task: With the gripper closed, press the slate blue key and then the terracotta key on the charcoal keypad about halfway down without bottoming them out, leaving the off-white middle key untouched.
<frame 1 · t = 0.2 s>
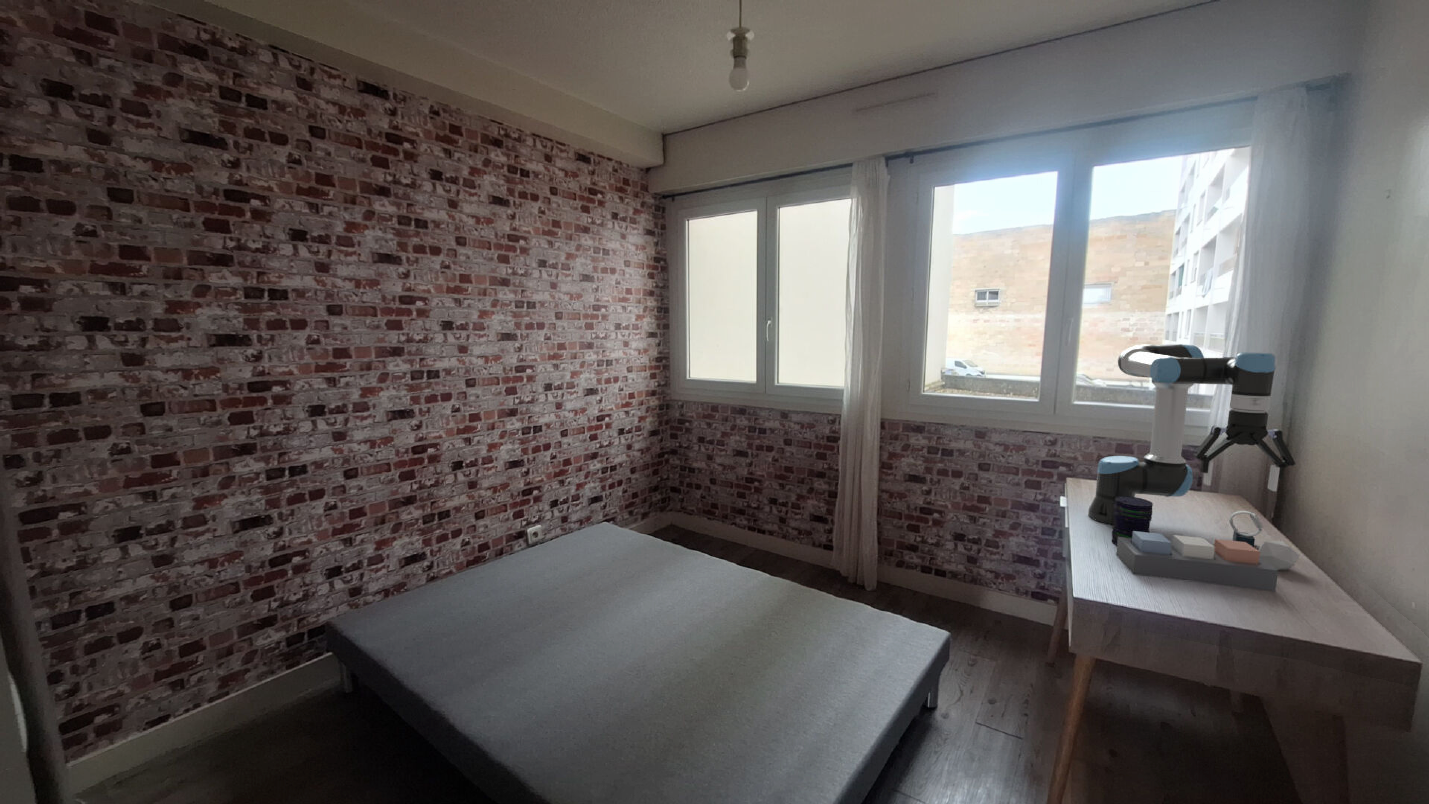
hand: (1238, 487, 147), 28 cm above the table, tool pointing down, fingers open, 13 cm apart
die: (1275, 568, 160), on the table
watch: (1243, 544, 177), on the table
keypad housing: (1189, 571, 158), on the table
white key: (1192, 549, 157), point 7 cm above the table, slide at 0.0 cm
slate blue key: (1150, 544, 160), point 7 cm above the table, slide at 0.0 cm
storage jar: (1129, 545, 178), on the table
terracotta key: (1235, 553, 153), point 7 cm above the table, slide at 0.0 cm
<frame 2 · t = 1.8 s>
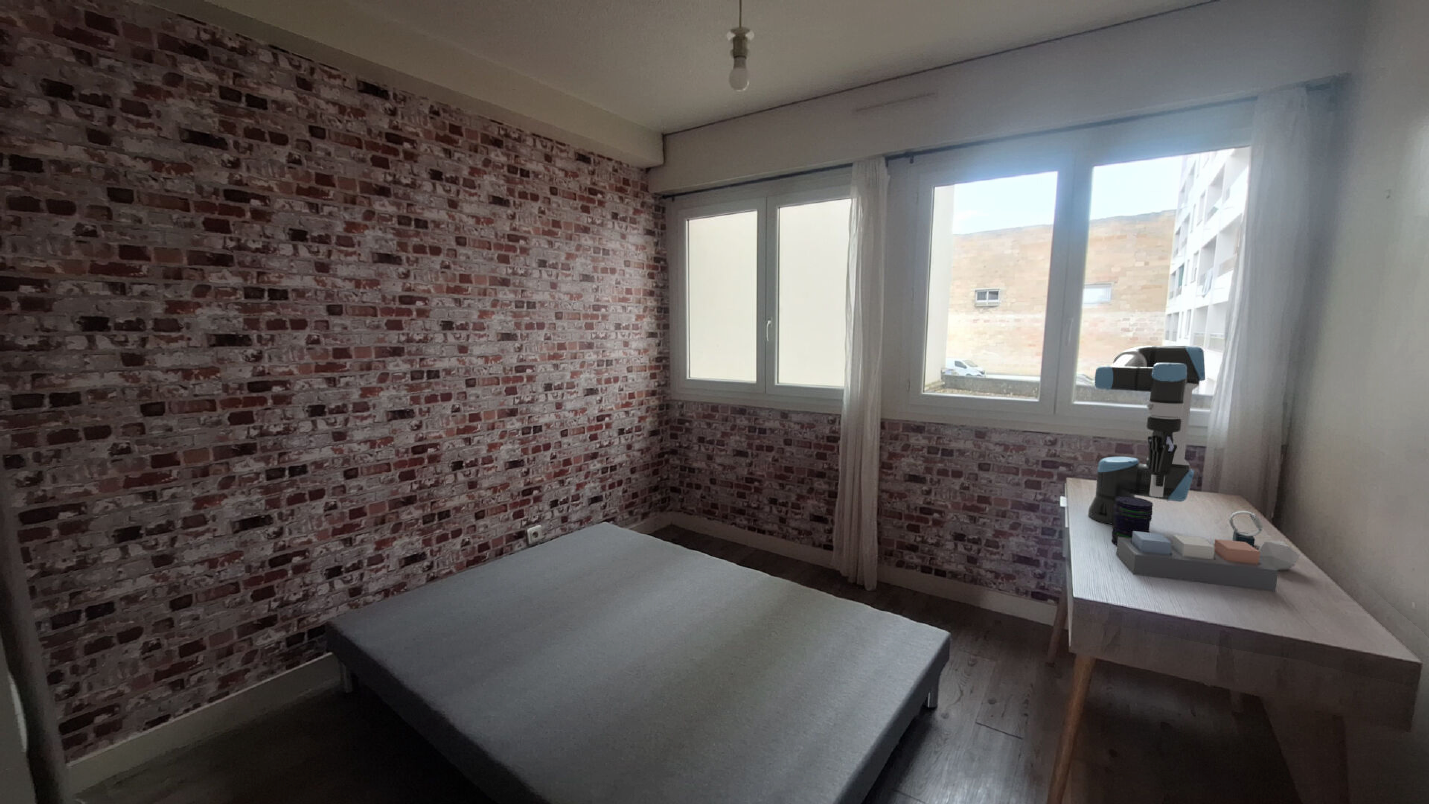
hand: (1156, 495, 158), 22 cm above the table, tool pointing down, fingers closed
nothing on the table moved.
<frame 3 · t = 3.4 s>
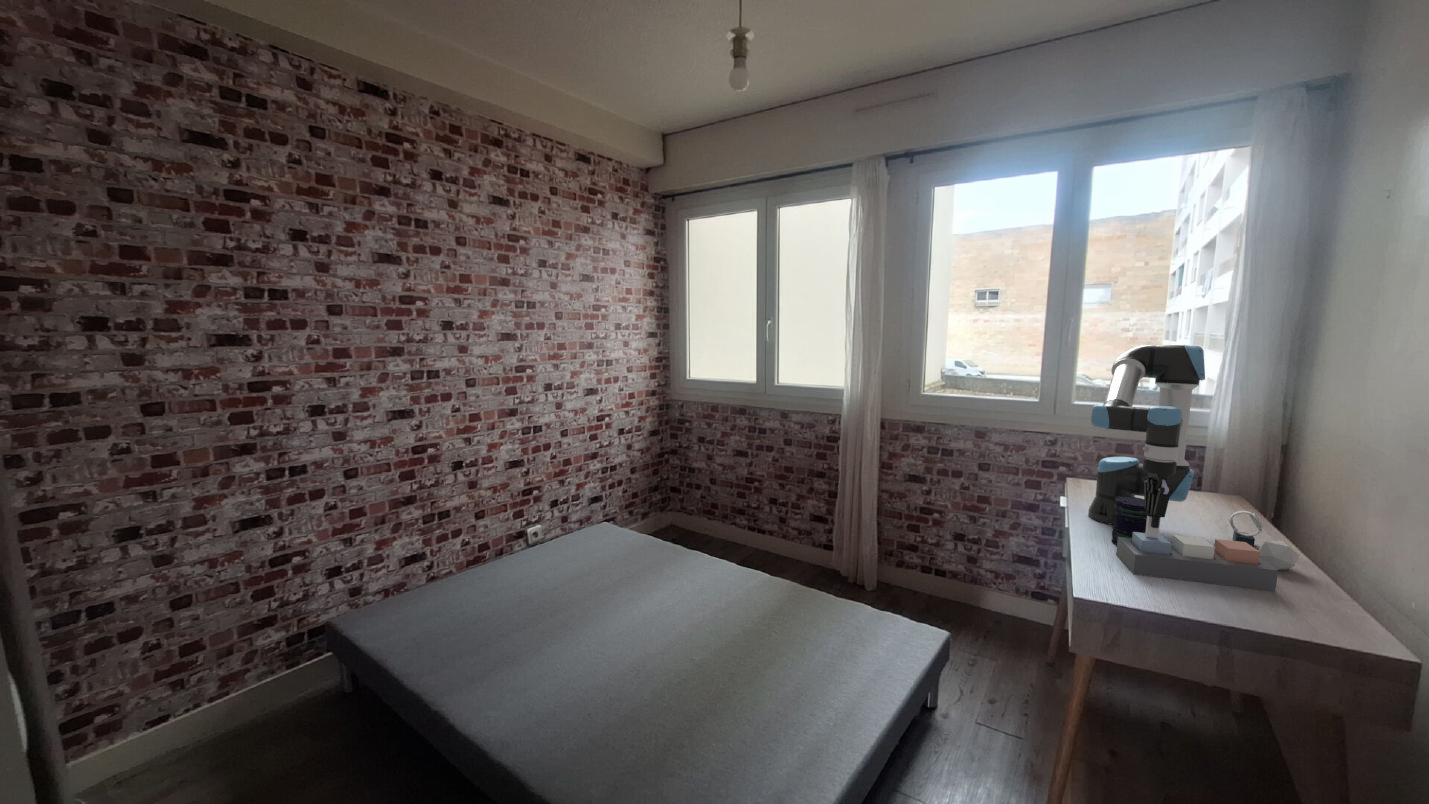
hand: (1151, 536, 160), 10 cm above the table, tool pointing down, fingers closed
slate blue key: (1150, 545, 160), point 7 cm above the table, slide at 0.3 cm, touching gripper
everything else where it was.
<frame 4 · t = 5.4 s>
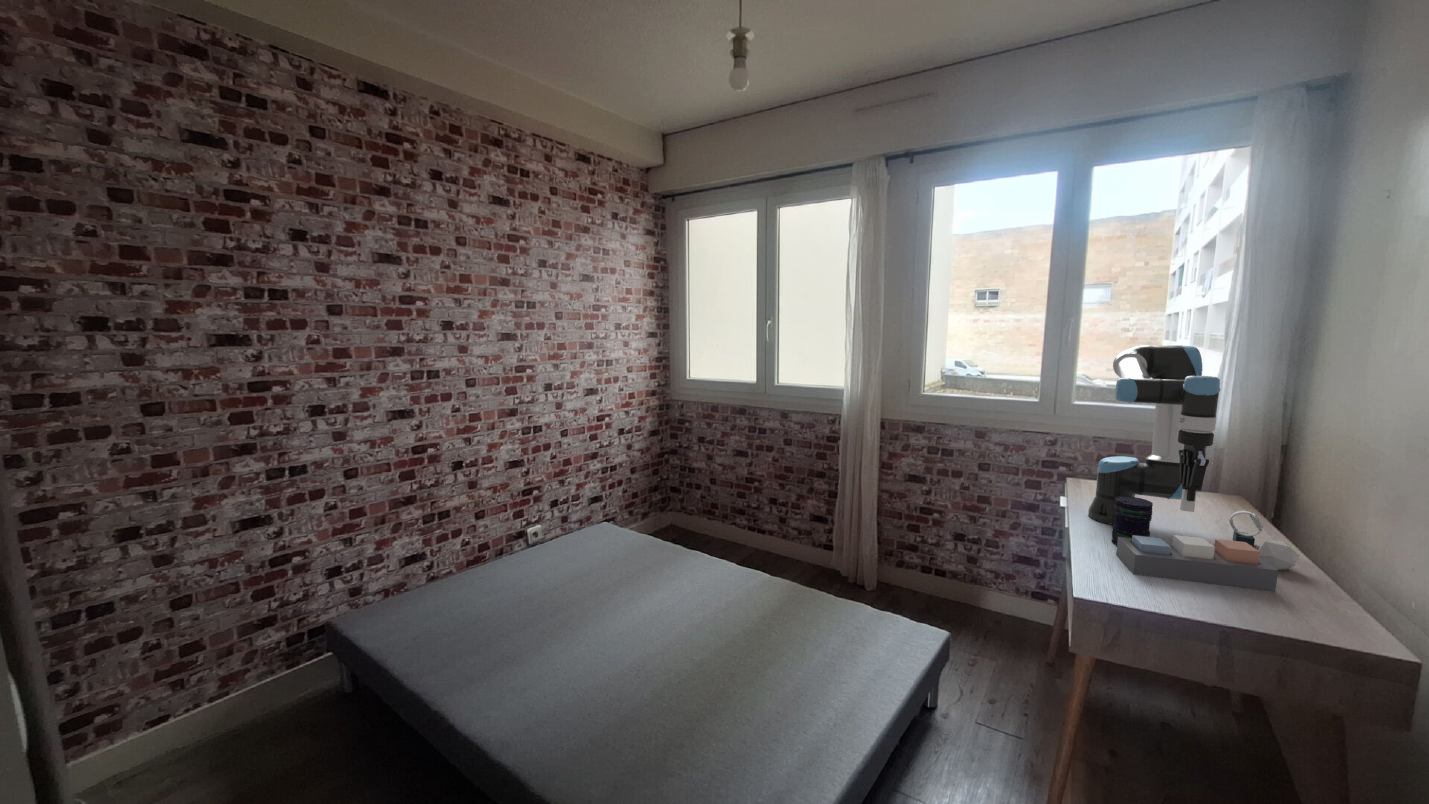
hand: (1187, 510, 156), 18 cm above the table, tool pointing down, fingers closed
slate blue key: (1150, 548, 160), point 6 cm above the table, slide at 1.3 cm
everything else where it was.
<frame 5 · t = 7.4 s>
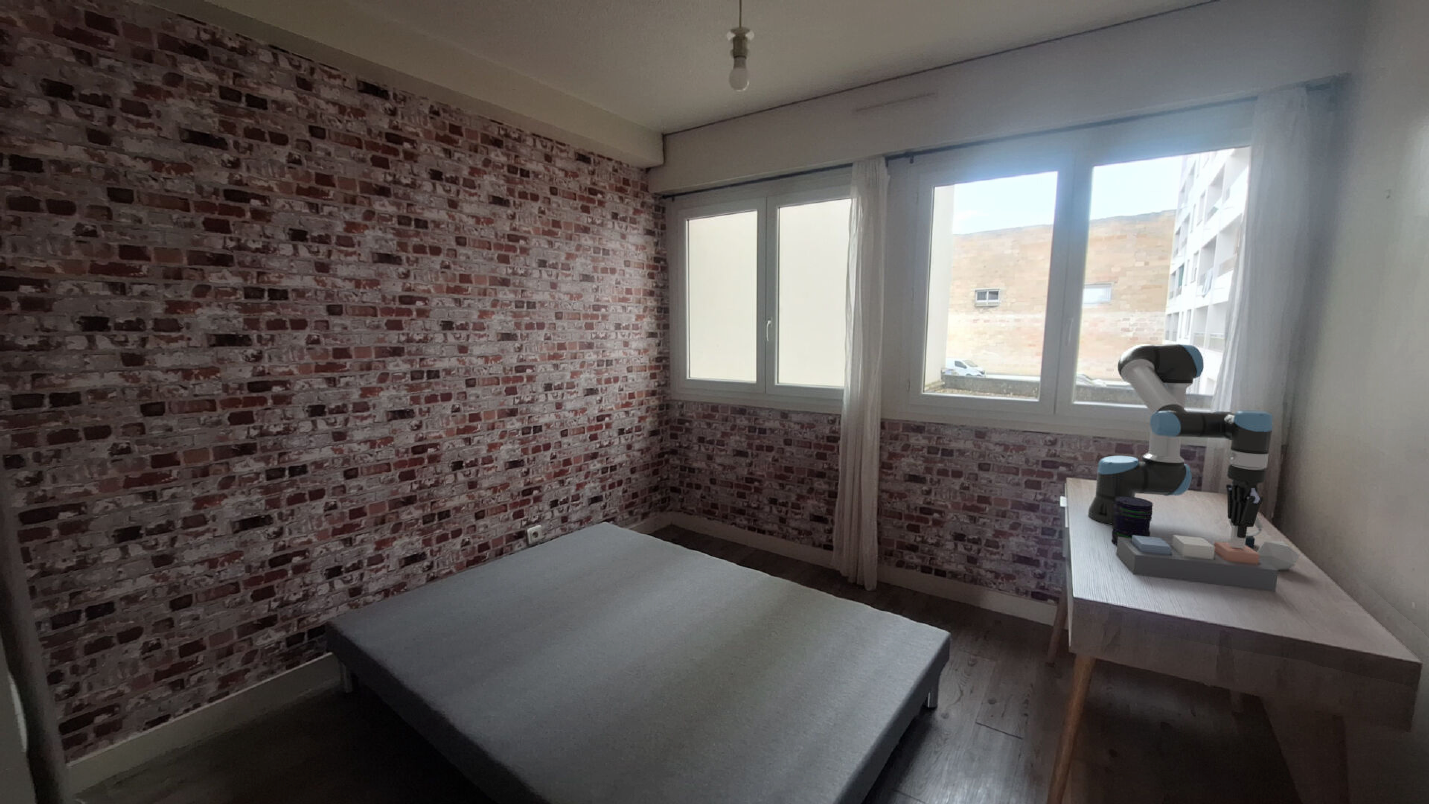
hand: (1237, 547, 153), 9 cm above the table, tool pointing down, fingers closed
terracotta key: (1235, 556, 153), point 6 cm above the table, slide at 0.8 cm, touching gripper
everything else where it was.
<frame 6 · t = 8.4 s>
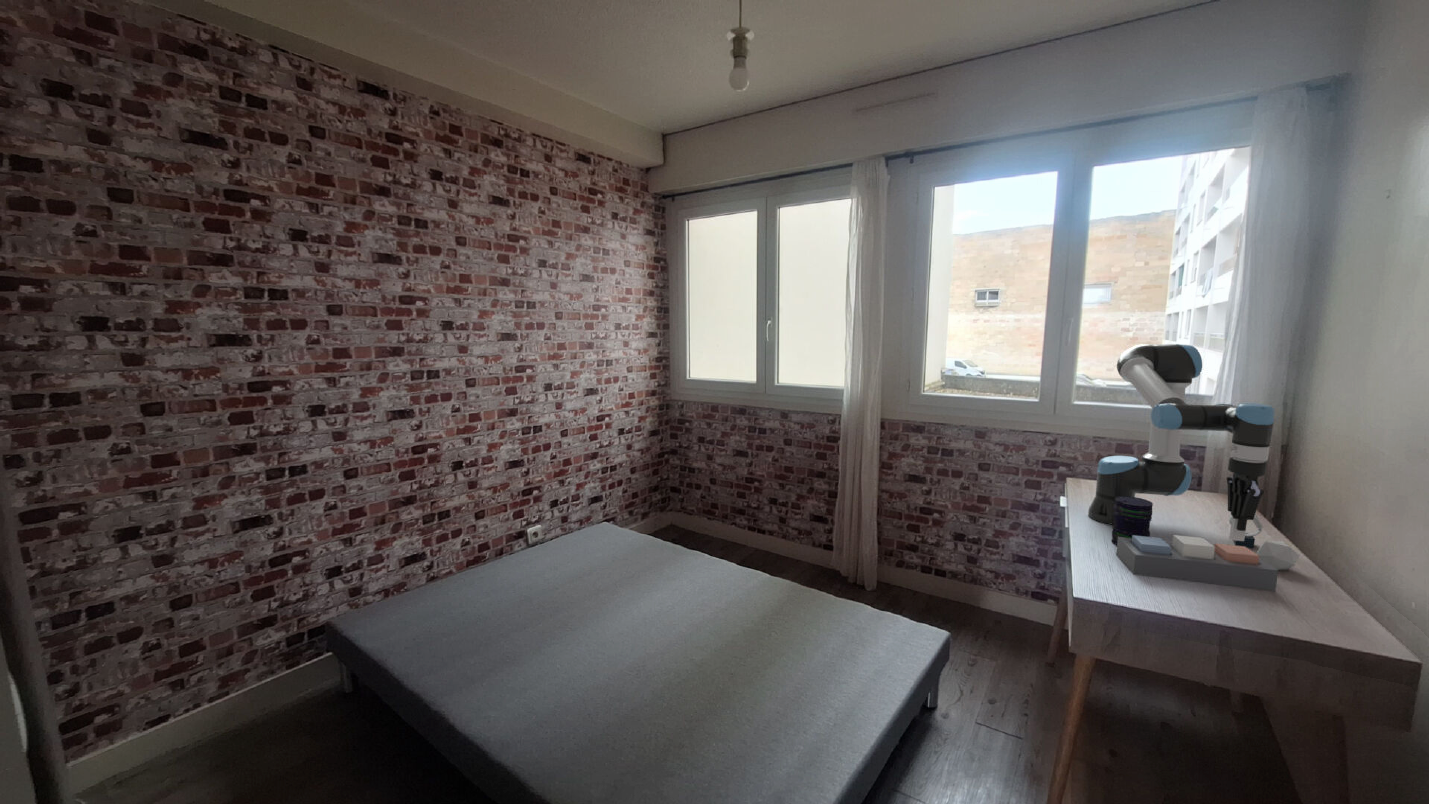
hand: (1236, 539, 153), 11 cm above the table, tool pointing down, fingers closed
terracotta key: (1235, 557, 154), point 6 cm above the table, slide at 1.3 cm
everything else where it was.
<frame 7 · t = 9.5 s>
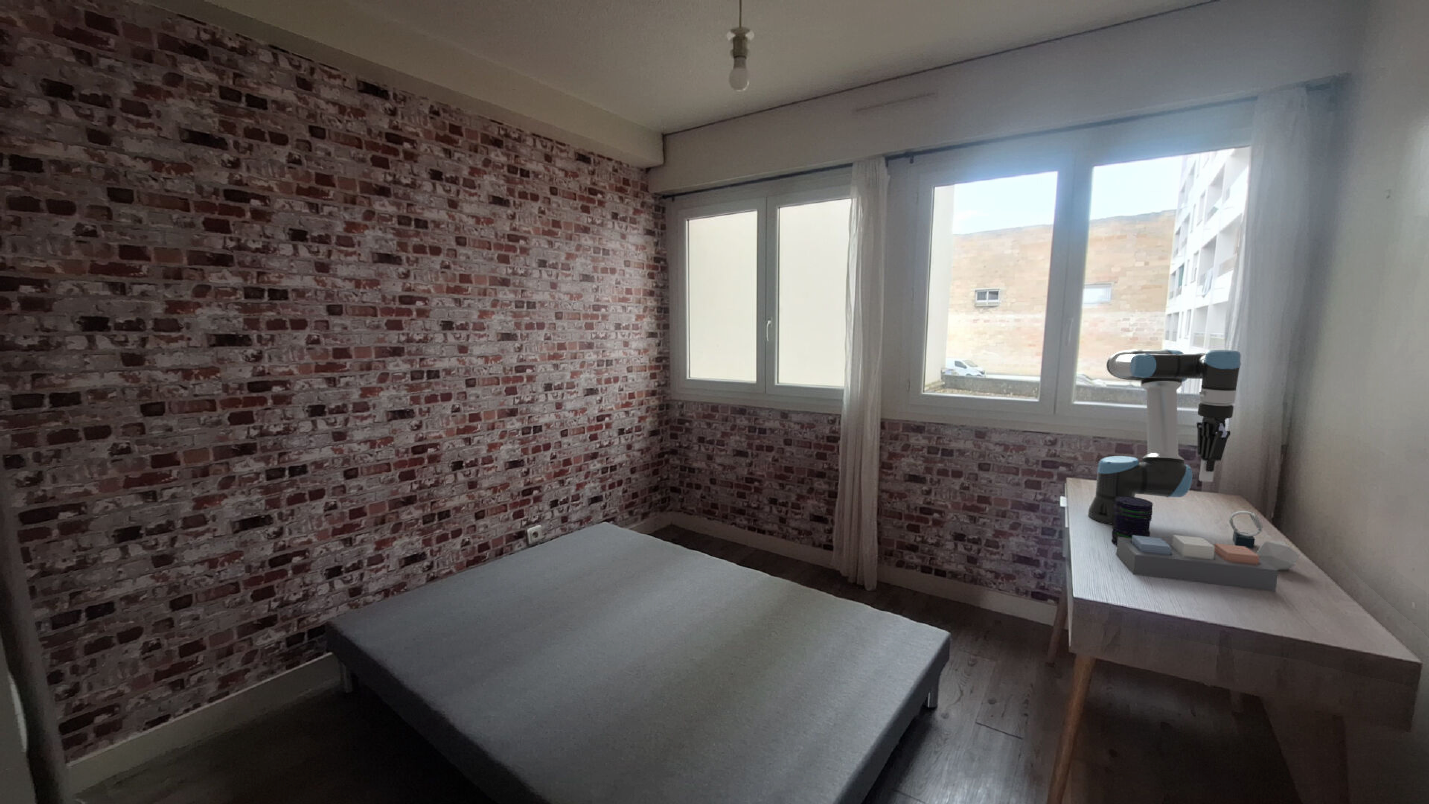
hand: (1205, 480, 161), 25 cm above the table, tool pointing down, fingers closed
nothing on the table moved.
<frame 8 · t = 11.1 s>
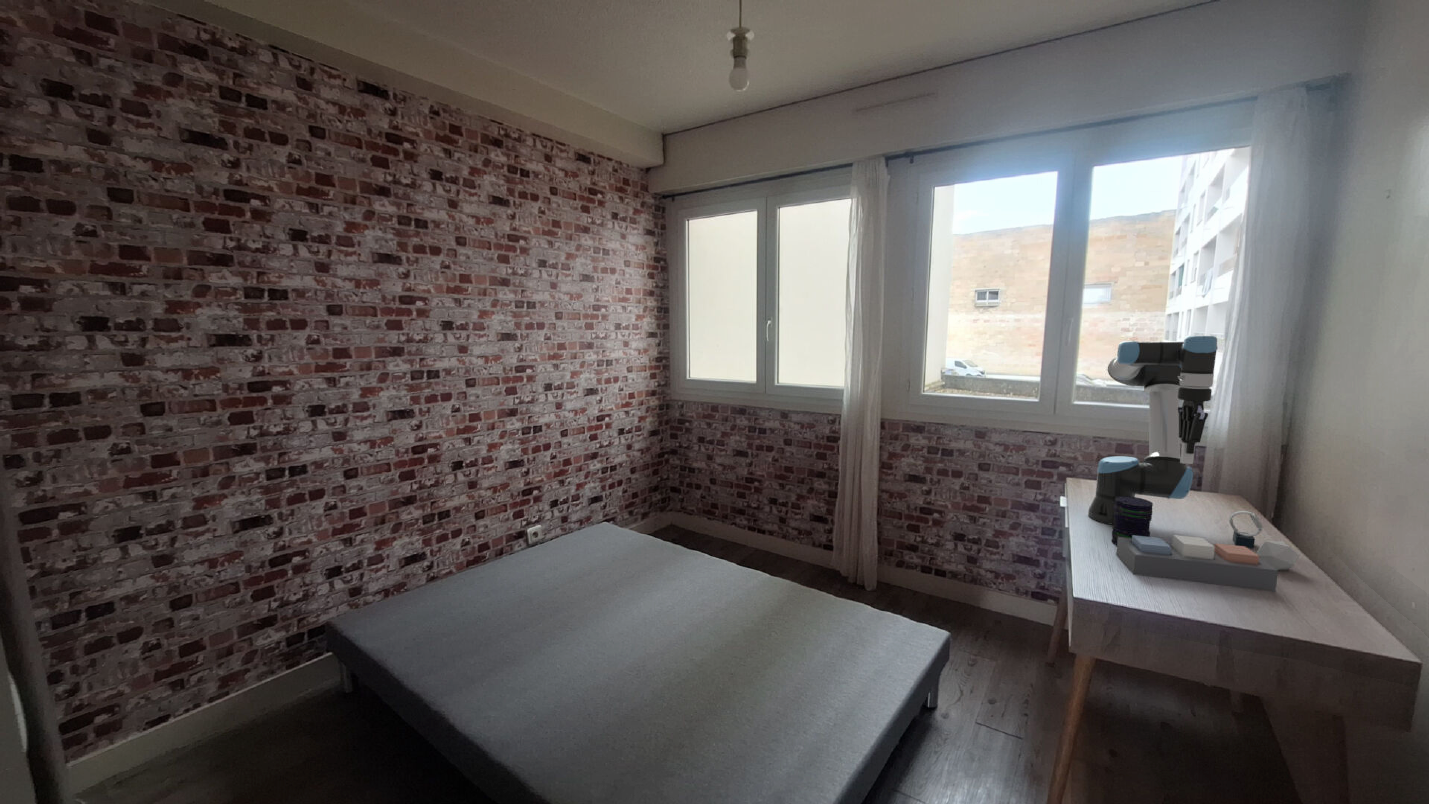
hand: (1186, 463, 166), 29 cm above the table, tool pointing down, fingers closed
nothing on the table moved.
at the end: slate blue key slide at 1.3 cm; terracotta key slide at 1.3 cm; white key slide at 0.0 cm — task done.
